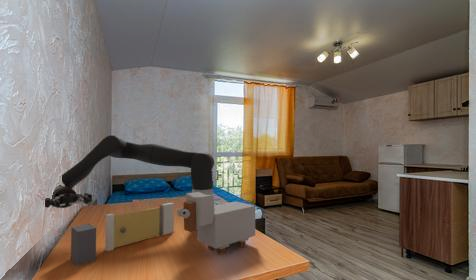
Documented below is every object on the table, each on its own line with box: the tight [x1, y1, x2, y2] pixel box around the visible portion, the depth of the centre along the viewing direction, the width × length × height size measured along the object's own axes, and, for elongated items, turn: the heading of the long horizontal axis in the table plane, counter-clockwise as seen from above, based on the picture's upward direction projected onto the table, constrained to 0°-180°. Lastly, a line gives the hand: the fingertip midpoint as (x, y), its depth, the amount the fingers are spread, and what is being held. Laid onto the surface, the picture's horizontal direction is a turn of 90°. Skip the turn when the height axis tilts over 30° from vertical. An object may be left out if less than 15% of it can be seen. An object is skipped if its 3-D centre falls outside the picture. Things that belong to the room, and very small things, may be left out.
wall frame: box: [104, 202, 175, 252], centre depth 93 cm, size 26×2×12 cm, turn 137°
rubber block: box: [70, 223, 97, 267], centre depth 77 cm, size 5×7×10 cm
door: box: [114, 206, 160, 249], centre depth 91 cm, size 17×3×11 cm, turn 137°
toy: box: [176, 192, 256, 255], centre depth 83 cm, size 11×28×20 cm, turn 132°
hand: (73, 202), depth 85 cm, fingers open, 8 cm apart
